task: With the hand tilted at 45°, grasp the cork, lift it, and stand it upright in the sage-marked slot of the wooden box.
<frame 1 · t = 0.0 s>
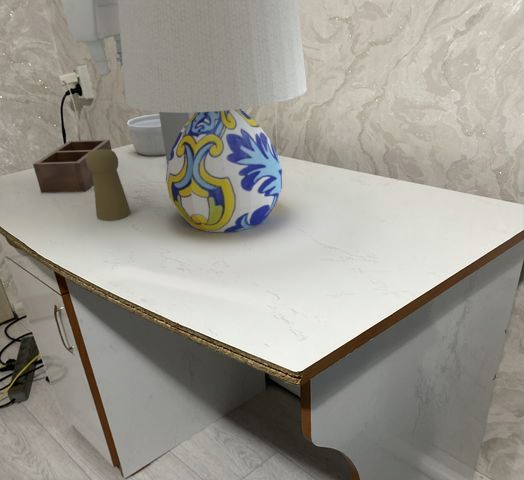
hand: (114, 69, 85), 22 cm above the table, tool pointing down, fingers open, 8 cm apart
wooden box: (80, 177, 115), on the table
ramekin: (159, 150, 131), on the table
table lamp: (228, 217, 92), on the table
cork: (114, 215, 96), on the table
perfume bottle: (188, 165, 119), on the table
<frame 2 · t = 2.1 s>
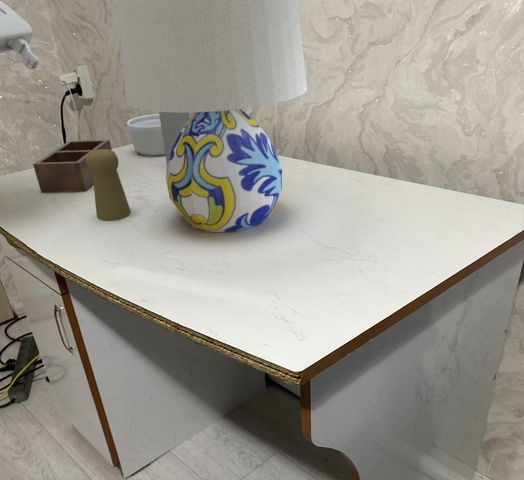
hand: (16, 70, 86), 23 cm above the table, tool tilted 45°, fingers open, 8 cm apart
nothing on the table moved.
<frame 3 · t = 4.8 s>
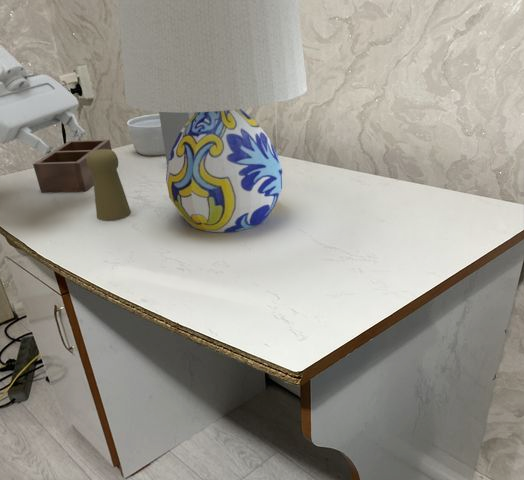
hand: (65, 143, 91), 12 cm above the table, tool tilted 45°, fingers open, 8 cm apart
nothing on the table moved.
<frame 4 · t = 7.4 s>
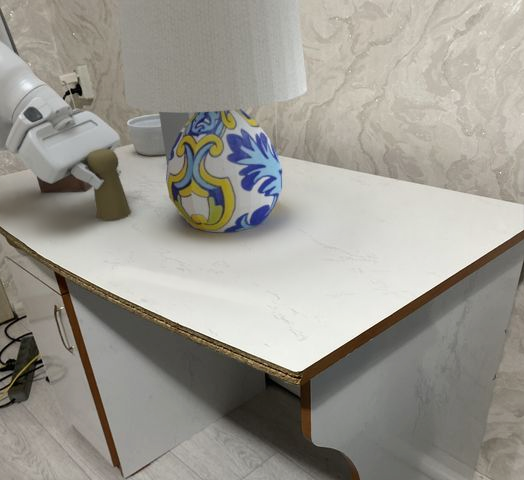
hand: (109, 180, 92), 6 cm above the table, tool tilted 45°, fingers closed on cork, 4 cm apart
cork: (114, 215, 96), on the table, touching gripper
everything else where it was.
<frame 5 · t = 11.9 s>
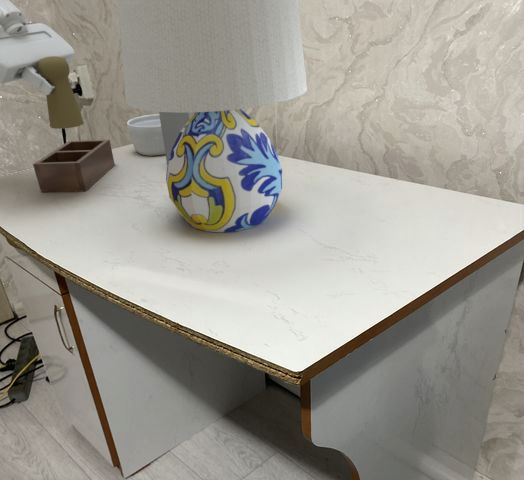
hand: (61, 89, 95), 19 cm above the table, tool tilted 45°, fingers closed on cork, 4 cm apart
cork: (67, 125, 98), point 13 cm above the table, touching gripper
everything else where it was.
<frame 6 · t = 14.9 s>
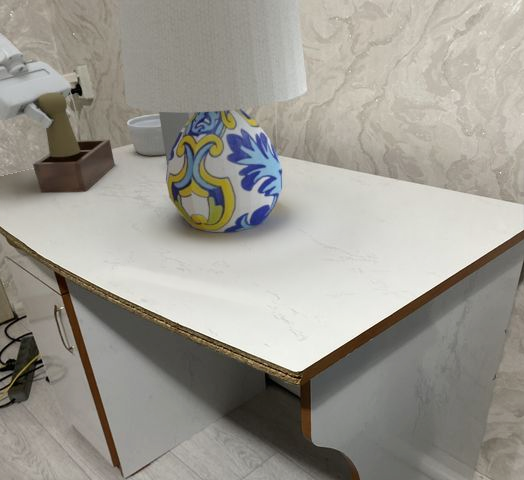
hand: (59, 121, 105), 12 cm above the table, tool tilted 45°, fingers closed on cork, 4 cm apart
cork: (65, 153, 108), point 6 cm above the table, touching gripper
everything else where it was.
when the fingers open (7 cm above the table, at t = 16.8 s): cork stays where it is, resting on wooden box.
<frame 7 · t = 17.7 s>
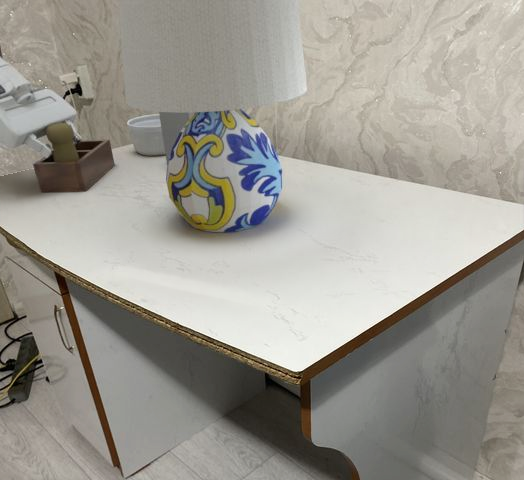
hand: (65, 148, 107), 7 cm above the table, tool tilted 45°, fingers open, 8 cm apart
cork: (72, 181, 111), point 1 cm above the table, touching wooden box
everything else where it was.
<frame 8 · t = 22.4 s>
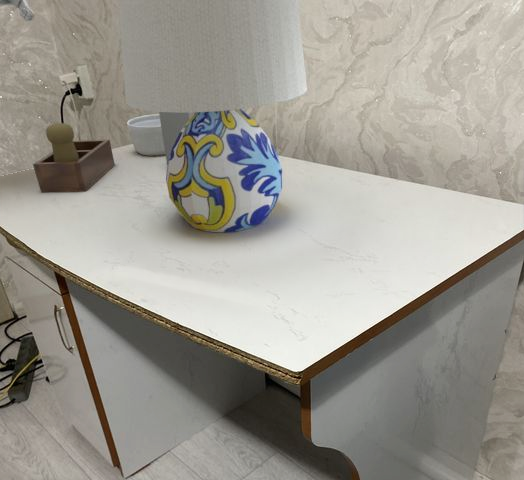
hand: (14, 20, 96), 29 cm above the table, tool tilted 45°, fingers open, 8 cm apart
nothing on the table moved.
at the end: cork 0.2 cm from the target spot in the wooden box, point 0.6 cm above the wooden box's base; cork tilted 0°; the gripper is holding nothing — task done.
